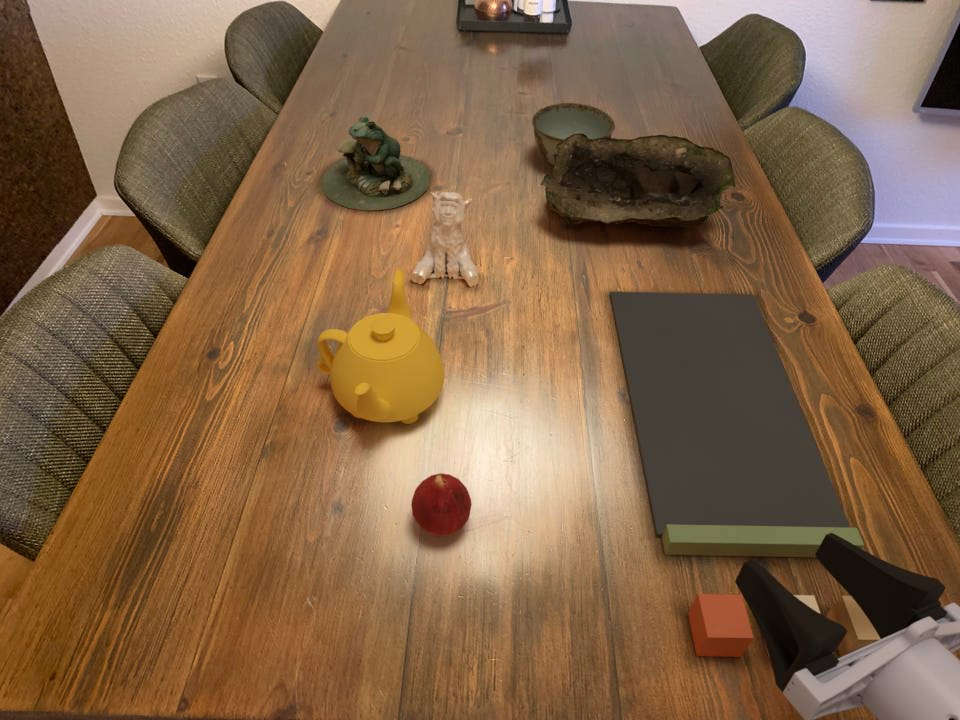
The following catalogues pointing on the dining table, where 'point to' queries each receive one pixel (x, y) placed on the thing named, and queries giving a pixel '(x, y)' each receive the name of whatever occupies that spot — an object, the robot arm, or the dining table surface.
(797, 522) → the line board
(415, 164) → the frog figurine
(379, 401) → the teapot
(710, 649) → the terracotta block
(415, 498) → the onion
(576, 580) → the dining table surface
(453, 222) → the sitting furry creature
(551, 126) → the bowl
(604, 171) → the hollow geode rock
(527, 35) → the dining table surface
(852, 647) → the birch block
